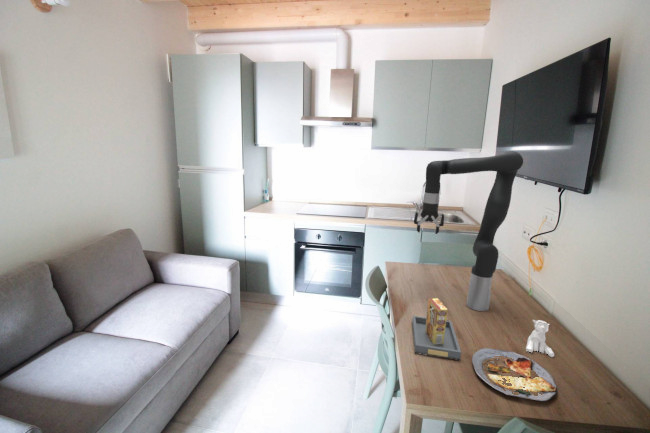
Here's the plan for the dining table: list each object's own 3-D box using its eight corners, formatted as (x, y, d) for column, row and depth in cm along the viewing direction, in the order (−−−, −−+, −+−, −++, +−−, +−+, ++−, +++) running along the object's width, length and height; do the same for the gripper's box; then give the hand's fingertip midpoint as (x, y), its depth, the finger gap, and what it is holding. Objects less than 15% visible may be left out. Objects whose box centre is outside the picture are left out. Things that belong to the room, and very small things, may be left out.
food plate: (537, 359, 114) (539, 351, 113) (571, 411, 92) (573, 402, 91) (465, 349, 120) (466, 341, 119) (480, 396, 98) (482, 387, 97)
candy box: (443, 344, 120) (448, 309, 116) (433, 345, 120) (437, 309, 116) (433, 331, 129) (438, 298, 125) (424, 331, 128) (428, 298, 125)
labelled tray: (450, 328, 132) (451, 321, 132) (460, 361, 112) (461, 353, 111) (412, 322, 136) (412, 315, 135) (414, 353, 116) (415, 345, 115)
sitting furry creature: (526, 353, 118) (532, 325, 115) (518, 339, 126) (524, 313, 123) (554, 358, 116) (561, 330, 113) (545, 344, 124) (551, 317, 121)
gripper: (444, 201, 155) (440, 232, 159) (415, 199, 158) (412, 229, 162) (447, 204, 148) (443, 236, 152) (416, 201, 151) (413, 233, 155)
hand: (427, 232), depth 157 cm, fingers open, 8 cm apart
